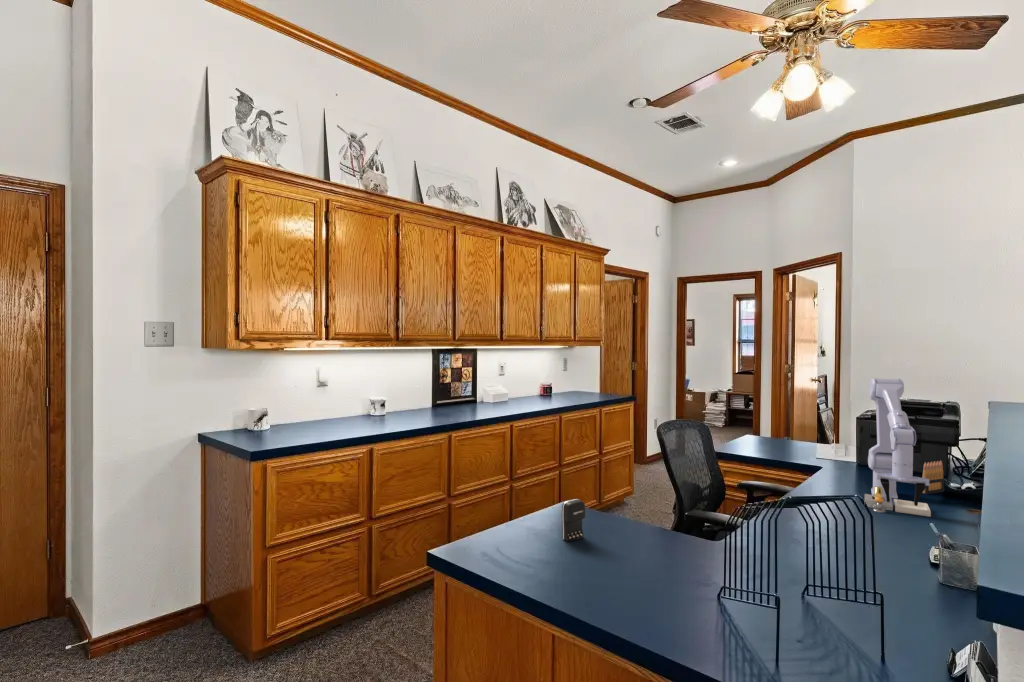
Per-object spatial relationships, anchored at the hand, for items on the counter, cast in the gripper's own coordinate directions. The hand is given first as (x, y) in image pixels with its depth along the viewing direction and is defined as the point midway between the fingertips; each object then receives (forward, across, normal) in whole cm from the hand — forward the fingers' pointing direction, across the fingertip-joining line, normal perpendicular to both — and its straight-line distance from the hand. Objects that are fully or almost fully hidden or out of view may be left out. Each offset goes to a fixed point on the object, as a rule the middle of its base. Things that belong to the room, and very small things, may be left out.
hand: (901, 503), depth 185 cm
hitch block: (+3, -6, +2) cm, 7 cm away
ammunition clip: (+3, +12, +34) cm, 37 cm away
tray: (+3, +3, +4) cm, 6 cm away
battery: (+3, -85, -80) cm, 117 cm away
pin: (+3, -6, +4) cm, 8 cm away
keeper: (0, -6, 0) cm, 7 cm away
